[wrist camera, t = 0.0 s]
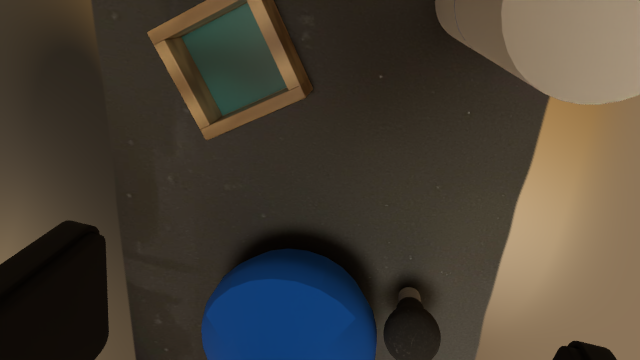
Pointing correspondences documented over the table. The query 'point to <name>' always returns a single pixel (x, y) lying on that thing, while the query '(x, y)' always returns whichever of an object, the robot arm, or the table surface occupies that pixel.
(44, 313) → the robot arm
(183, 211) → the table surface
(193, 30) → the square wooden tray
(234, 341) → the vase
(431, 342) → the light bulb
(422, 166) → the table surface
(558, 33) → the cylindrical container
